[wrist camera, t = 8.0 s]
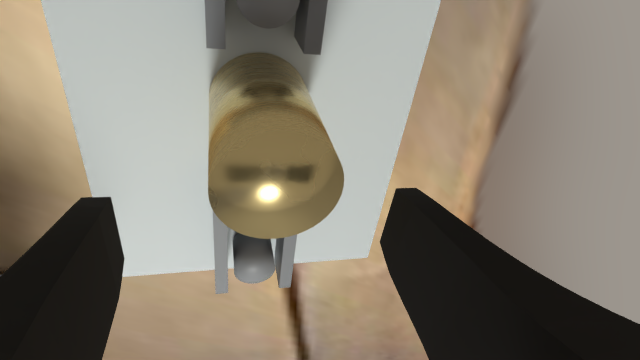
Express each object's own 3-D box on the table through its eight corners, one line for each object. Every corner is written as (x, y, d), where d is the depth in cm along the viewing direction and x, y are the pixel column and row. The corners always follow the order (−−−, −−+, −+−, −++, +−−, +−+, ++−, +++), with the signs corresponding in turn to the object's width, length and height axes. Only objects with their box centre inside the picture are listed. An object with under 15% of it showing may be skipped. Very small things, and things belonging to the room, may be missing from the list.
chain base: (362, 245, 24) (378, 283, 22) (117, 262, 21) (105, 310, 19) (477, -183, 13) (536, -199, 11) (-23, -305, 9) (-100, -369, 7)
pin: (302, 141, 18) (334, 234, 13) (211, 142, 17) (211, 243, 12) (311, 54, 15) (354, 130, 11) (205, 50, 14) (203, 131, 10)
